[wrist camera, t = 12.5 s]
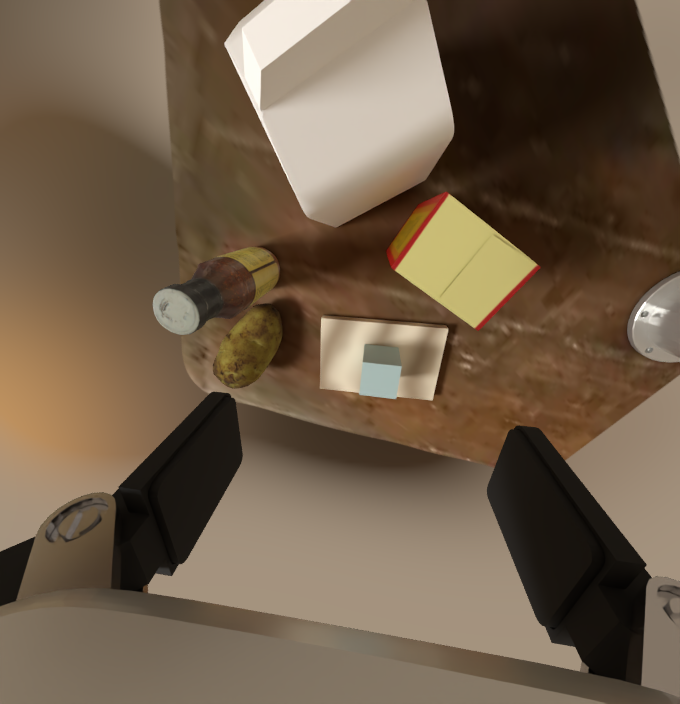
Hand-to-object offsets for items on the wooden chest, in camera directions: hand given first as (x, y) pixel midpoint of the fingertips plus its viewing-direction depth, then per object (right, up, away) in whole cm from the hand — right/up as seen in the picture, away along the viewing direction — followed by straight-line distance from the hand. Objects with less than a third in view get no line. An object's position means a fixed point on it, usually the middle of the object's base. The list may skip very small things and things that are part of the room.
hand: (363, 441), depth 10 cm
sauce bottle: (-12, +15, +31) cm, 36 cm away
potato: (-14, +5, +35) cm, 38 cm away
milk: (+2, +26, +24) cm, 36 cm away
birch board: (+5, +2, +34) cm, 35 cm away
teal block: (+5, +2, +33) cm, 33 cm away
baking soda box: (+11, +16, +27) cm, 33 cm away
